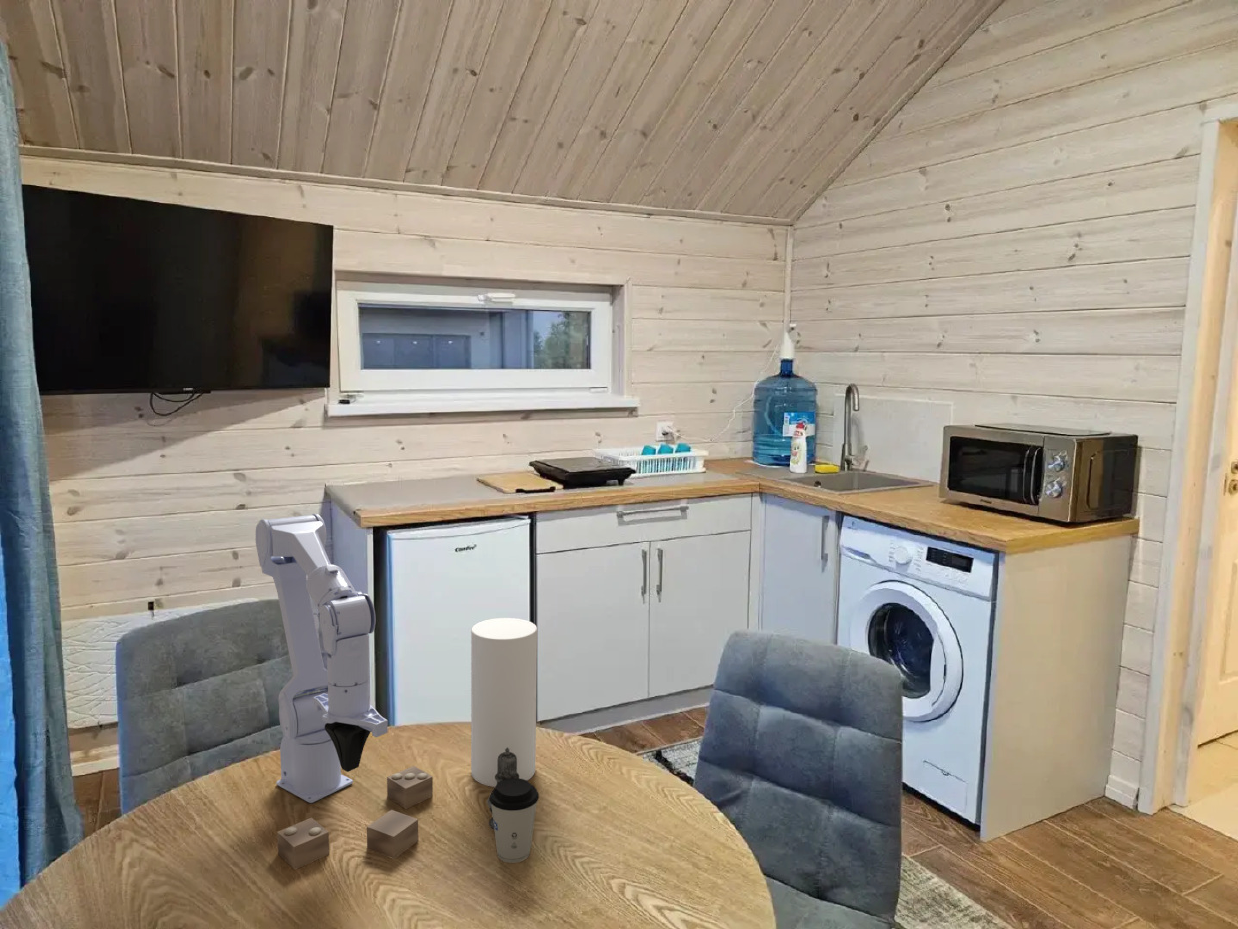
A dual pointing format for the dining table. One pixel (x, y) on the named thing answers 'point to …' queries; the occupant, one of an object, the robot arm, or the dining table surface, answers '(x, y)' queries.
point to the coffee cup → (513, 818)
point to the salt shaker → (504, 772)
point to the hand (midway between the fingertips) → (350, 768)
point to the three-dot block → (409, 787)
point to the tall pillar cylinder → (503, 696)
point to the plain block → (392, 834)
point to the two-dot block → (303, 843)
